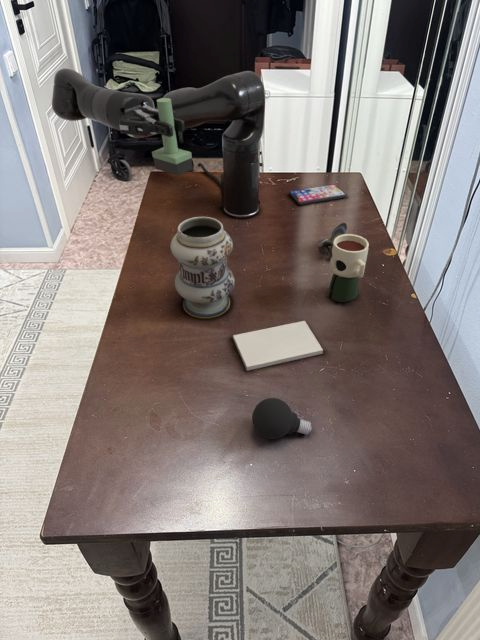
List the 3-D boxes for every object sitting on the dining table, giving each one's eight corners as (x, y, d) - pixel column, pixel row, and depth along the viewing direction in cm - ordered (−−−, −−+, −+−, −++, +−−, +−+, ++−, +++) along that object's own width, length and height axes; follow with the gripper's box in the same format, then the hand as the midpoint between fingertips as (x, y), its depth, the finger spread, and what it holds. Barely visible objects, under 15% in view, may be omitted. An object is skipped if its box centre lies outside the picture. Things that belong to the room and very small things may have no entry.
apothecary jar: (199, 280, 109) (193, 205, 97) (246, 298, 105) (246, 221, 93) (165, 309, 102) (154, 231, 89) (213, 329, 97) (209, 250, 85)
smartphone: (347, 194, 139) (299, 203, 135) (346, 198, 140) (299, 206, 136) (335, 183, 144) (288, 190, 140) (334, 186, 145) (288, 193, 141)
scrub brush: (154, 168, 106) (142, 99, 97) (170, 162, 109) (160, 94, 100) (177, 176, 102) (167, 105, 93) (193, 169, 105) (185, 99, 96)
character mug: (316, 285, 109) (322, 233, 100) (343, 278, 111) (352, 226, 102) (340, 314, 102) (349, 260, 93) (370, 306, 104) (381, 253, 95)
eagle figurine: (354, 258, 115) (353, 232, 121) (341, 237, 111) (340, 211, 116) (324, 269, 119) (325, 243, 124) (310, 249, 114) (311, 224, 120)
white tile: (246, 370, 89) (246, 367, 89) (232, 339, 96) (232, 335, 95) (322, 353, 93) (323, 349, 92) (304, 324, 99) (304, 320, 99)
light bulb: (323, 427, 75) (262, 410, 72) (306, 457, 78) (247, 441, 75) (316, 401, 80) (259, 385, 78) (300, 430, 83) (245, 415, 81)
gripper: (145, 120, 113) (202, 138, 105) (96, 137, 104) (154, 158, 97) (140, 84, 107) (199, 100, 100) (88, 99, 99) (149, 118, 92)
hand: (177, 129), depth 99 cm, fingers closed on scrub brush, 3 cm apart
